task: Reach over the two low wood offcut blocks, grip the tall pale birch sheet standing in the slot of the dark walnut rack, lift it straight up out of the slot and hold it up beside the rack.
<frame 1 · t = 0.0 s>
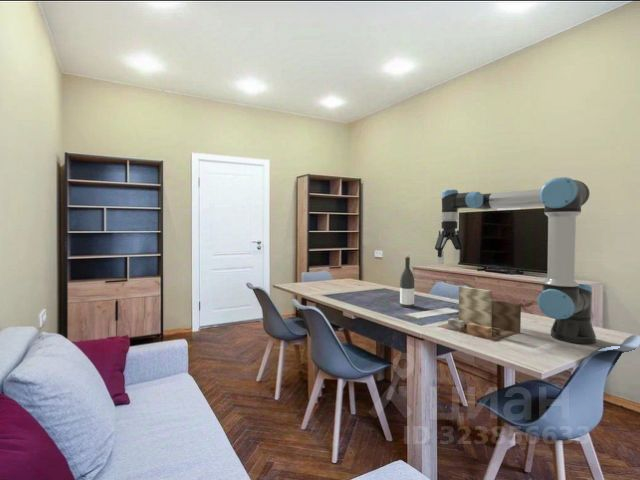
hand: (448, 263, 174), 28 cm above the table, tool pointing down, fingers open, 13 cm apart
grey mdf offcut: (456, 329, 150), point 1 cm above the table, touching walnut rack
baseboard molding: (431, 315, 184), on the table
wine bottle: (407, 306, 203), on the table
birch sheet: (474, 330, 149), point 1 cm above the table, touching walnut rack
cherry offcut: (479, 335, 142), point 1 cm above the table, touching walnut rack
walnut rack: (477, 332, 150), on the table
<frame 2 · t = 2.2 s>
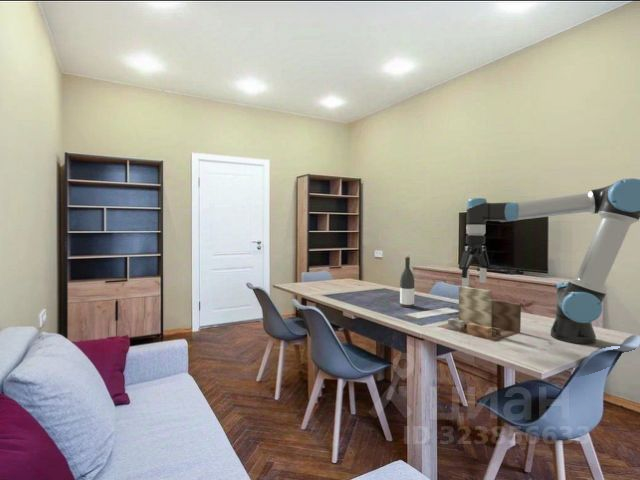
hand: (474, 284, 148), 21 cm above the table, tool pointing down, fingers open, 13 cm apart
nothing on the table moved.
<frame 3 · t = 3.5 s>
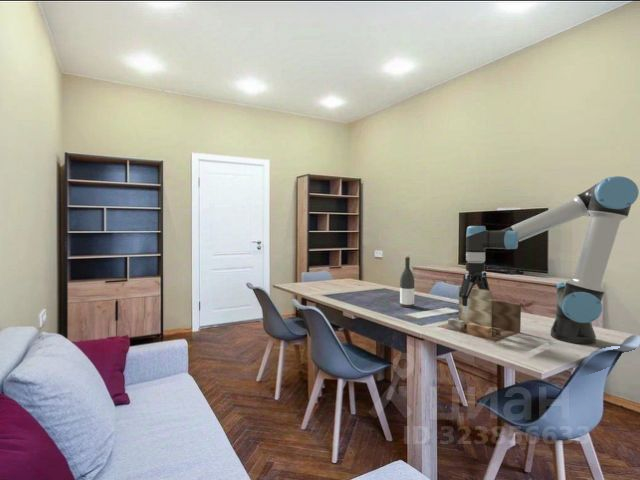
hand: (474, 311, 148), 10 cm above the table, tool pointing down, fingers open, 13 cm apart
nothing on the table moved.
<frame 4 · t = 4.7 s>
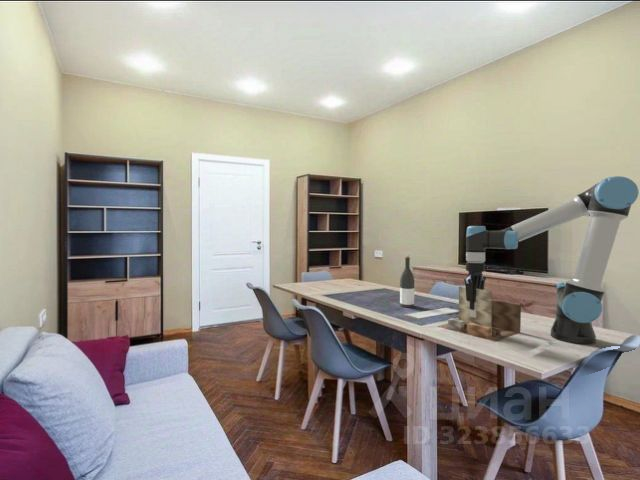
hand: (474, 316, 148), 7 cm above the table, tool pointing down, fingers closed on birch sheet, 2 cm apart
birch sheet: (474, 330, 149), point 2 cm above the table, touching gripper
everything else where it was.
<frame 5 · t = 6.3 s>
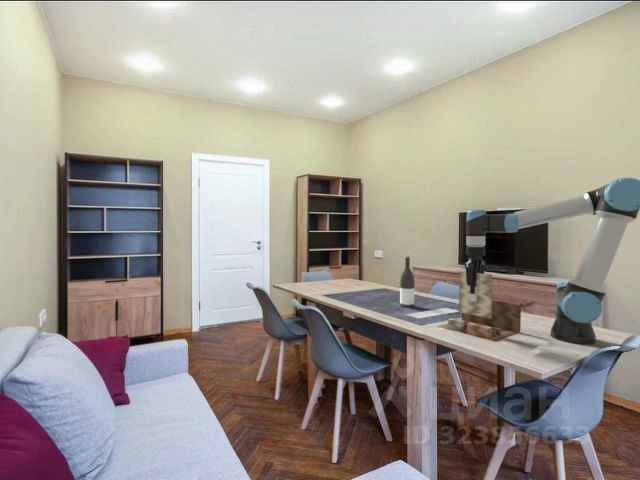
hand: (474, 300, 148), 14 cm above the table, tool pointing down, fingers closed on birch sheet, 2 cm apart
birch sheet: (474, 314, 148), point 8 cm above the table, touching gripper
everything else where it was.
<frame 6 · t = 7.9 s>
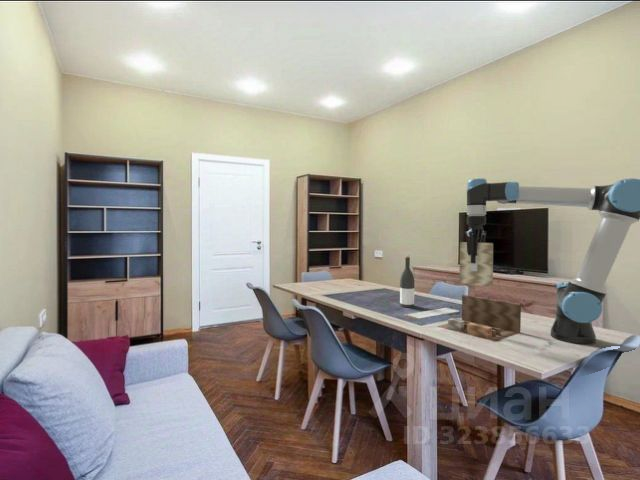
hand: (475, 270, 148), 27 cm above the table, tool pointing down, fingers closed on birch sheet, 2 cm apart
birch sheet: (475, 284, 148), point 21 cm above the table, touching gripper
everything else where it was.
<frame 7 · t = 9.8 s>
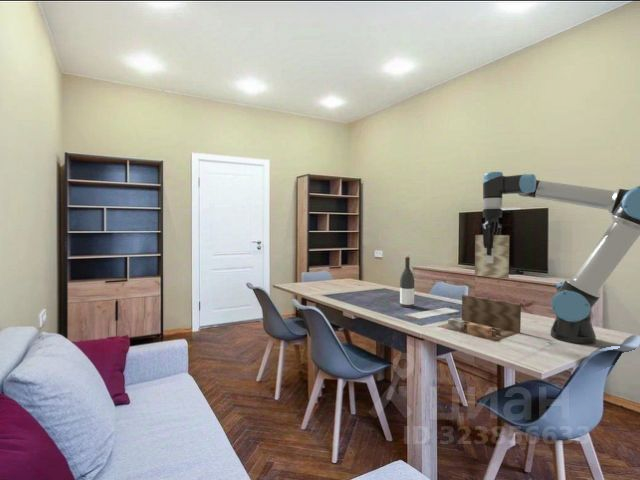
hand: (491, 262, 150), 30 cm above the table, tool pointing down, fingers closed on birch sheet, 2 cm apart
birch sheet: (491, 276, 150), point 24 cm above the table, touching gripper
everything else where it was.
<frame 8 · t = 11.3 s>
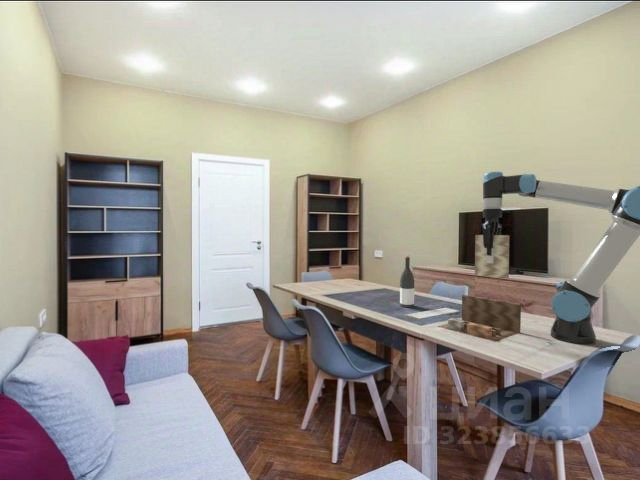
hand: (491, 262, 150), 30 cm above the table, tool pointing down, fingers closed on birch sheet, 2 cm apart
birch sheet: (491, 276, 150), point 24 cm above the table, touching gripper
everything else where it was.
at the end: the gripper is holding birch sheet; birch sheet point 24.5 cm above the table; cherry offcut moved 0.0 cm from its start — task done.
